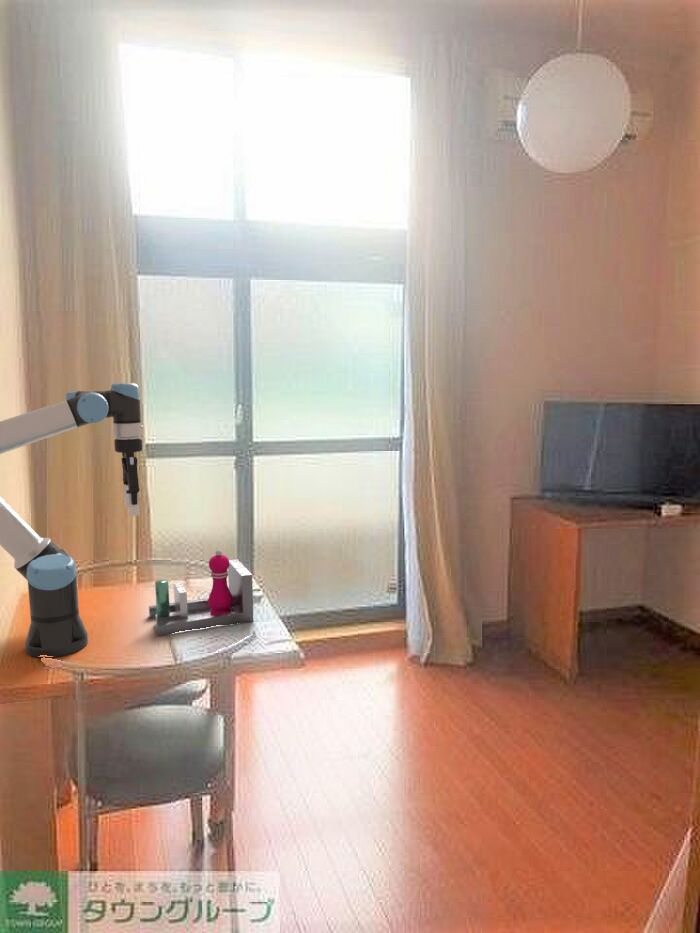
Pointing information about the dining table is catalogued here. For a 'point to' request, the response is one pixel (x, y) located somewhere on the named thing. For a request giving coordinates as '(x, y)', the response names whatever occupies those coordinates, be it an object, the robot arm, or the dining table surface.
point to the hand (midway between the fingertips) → (132, 511)
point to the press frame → (241, 605)
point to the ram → (163, 602)
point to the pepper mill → (219, 585)
